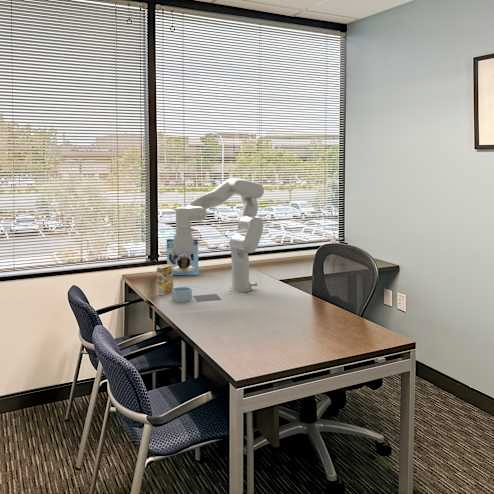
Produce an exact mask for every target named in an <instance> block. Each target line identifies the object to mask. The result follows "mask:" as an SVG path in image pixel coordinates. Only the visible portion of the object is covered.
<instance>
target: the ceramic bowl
mask: <svg viewBox="0 0 494 494" xmlns="http://www.w3.org/2000/svg"><path fill="white" fill-rule="evenodd" d="M192 300H193V289H192V287H189V286H177V287H173V289H172V292H171V301H172V302H175V303H176V302H177V303H185V302H187V303H188V302H190V301H192Z"/></svg>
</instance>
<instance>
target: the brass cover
mask: <svg viewBox="0 0 494 494" xmlns="http://www.w3.org/2000/svg"><path fill="white" fill-rule="evenodd" d="M180 260H181V268H179V266H175V267H173V268H172V270H173V271H179V272H187V271H194V270H196V267H194V266H189V267H187V257H180Z"/></svg>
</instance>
